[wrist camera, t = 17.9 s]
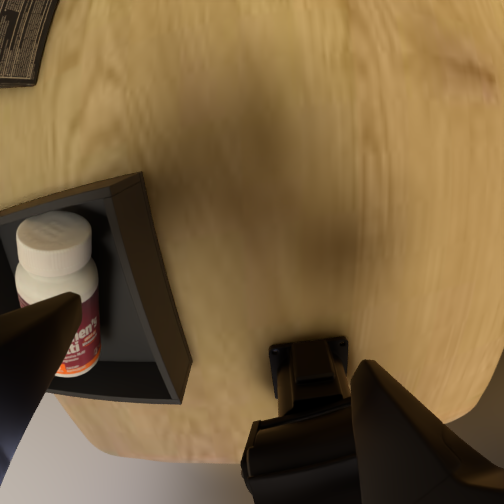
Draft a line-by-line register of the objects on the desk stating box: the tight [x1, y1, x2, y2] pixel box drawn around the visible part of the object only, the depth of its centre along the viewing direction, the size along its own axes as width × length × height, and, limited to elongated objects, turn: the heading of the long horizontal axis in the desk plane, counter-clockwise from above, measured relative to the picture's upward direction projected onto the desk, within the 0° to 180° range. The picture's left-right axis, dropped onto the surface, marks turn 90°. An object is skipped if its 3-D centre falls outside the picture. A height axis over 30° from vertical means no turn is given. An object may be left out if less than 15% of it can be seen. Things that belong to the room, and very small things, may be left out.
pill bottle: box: [15, 211, 101, 377], centre depth 19 cm, size 6×6×11 cm
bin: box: [0, 172, 193, 405], centre depth 21 cm, size 16×16×5 cm
